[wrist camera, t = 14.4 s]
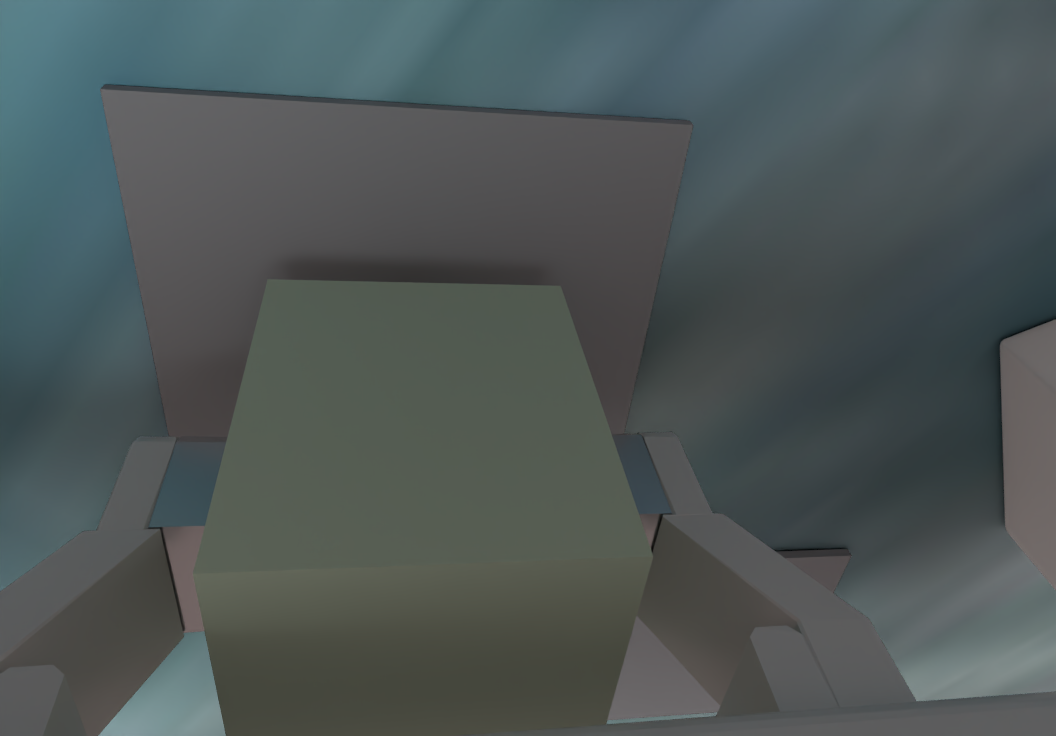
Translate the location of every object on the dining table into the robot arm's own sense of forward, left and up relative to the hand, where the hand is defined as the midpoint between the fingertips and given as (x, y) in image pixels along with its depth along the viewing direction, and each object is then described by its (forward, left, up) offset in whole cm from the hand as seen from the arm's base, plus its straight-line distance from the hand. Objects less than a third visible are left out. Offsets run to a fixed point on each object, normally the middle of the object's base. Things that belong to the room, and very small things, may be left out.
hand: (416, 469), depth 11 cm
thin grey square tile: (0, 0, -3) cm, 3 cm away
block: (0, 0, -2) cm, 2 cm away
